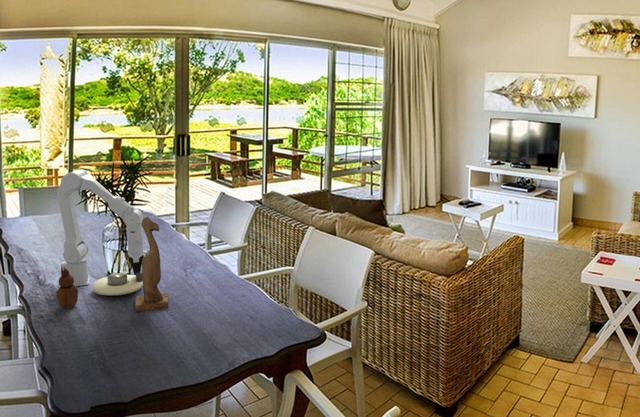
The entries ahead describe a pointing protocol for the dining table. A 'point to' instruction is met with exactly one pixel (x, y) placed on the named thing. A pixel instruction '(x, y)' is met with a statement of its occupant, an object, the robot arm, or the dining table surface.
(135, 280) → the turntable
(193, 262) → the dining table surface
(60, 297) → the wooden figurine
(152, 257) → the bird sculpture
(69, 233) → the robot arm
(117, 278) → the cover
